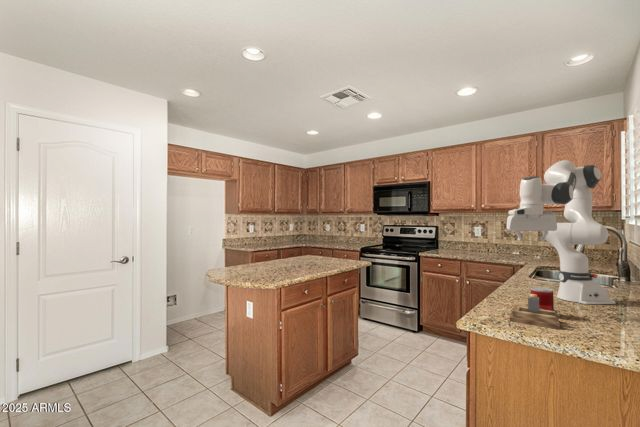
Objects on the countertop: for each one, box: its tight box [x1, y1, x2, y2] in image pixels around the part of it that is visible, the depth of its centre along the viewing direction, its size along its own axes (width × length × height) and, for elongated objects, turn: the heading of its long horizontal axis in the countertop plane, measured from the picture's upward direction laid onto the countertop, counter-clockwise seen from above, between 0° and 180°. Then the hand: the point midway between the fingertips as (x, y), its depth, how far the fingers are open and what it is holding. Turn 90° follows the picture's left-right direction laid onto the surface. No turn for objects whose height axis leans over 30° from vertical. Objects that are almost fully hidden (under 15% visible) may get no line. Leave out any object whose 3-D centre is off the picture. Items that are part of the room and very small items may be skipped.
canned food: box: [530, 286, 555, 311], centre depth 131 cm, size 8×8×11 cm
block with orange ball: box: [527, 293, 539, 314], centre depth 122 cm, size 4×4×9 cm
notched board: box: [509, 305, 561, 330], centre depth 122 cm, size 16×11×4 cm
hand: (531, 240), depth 141 cm, fingers open, 8 cm apart
